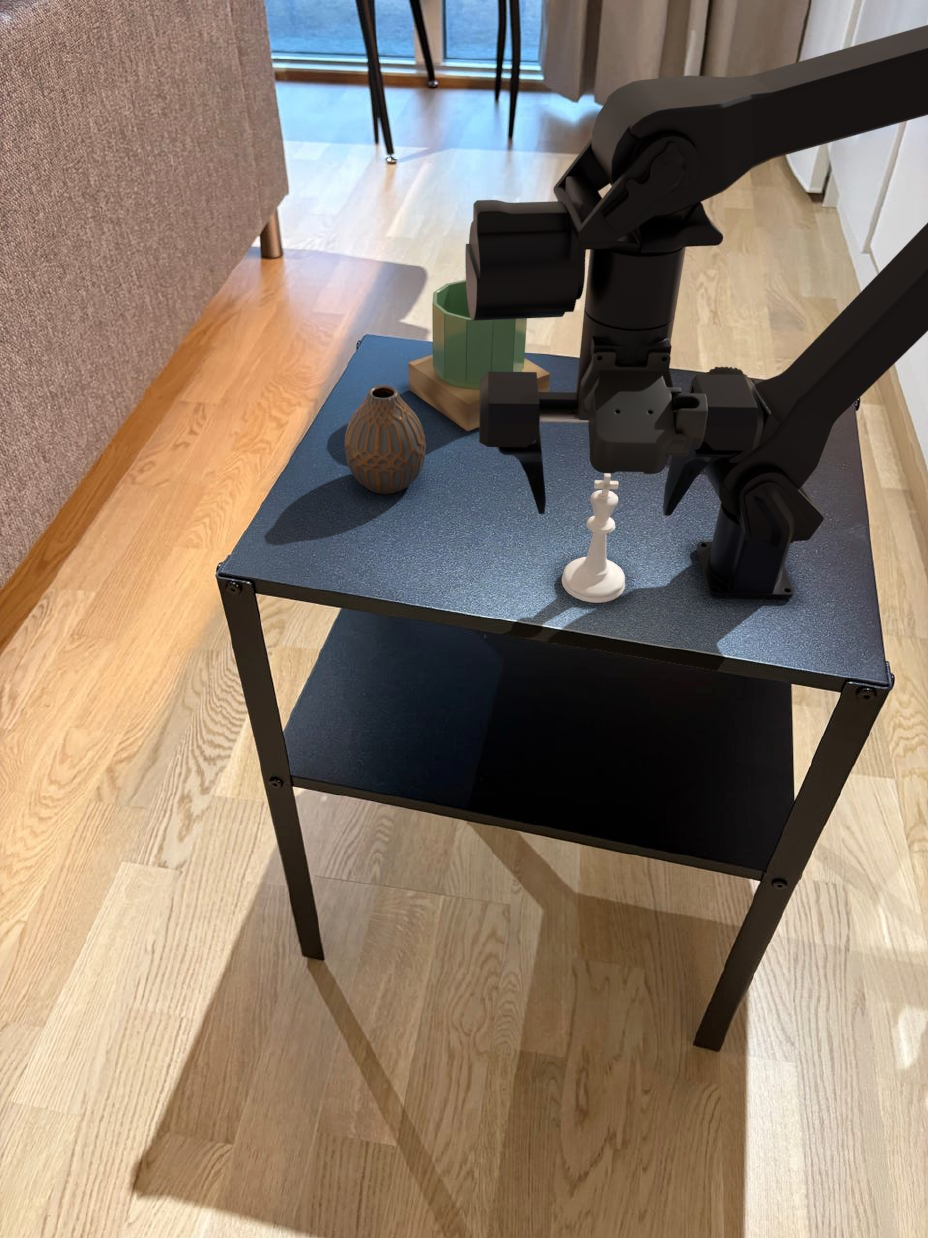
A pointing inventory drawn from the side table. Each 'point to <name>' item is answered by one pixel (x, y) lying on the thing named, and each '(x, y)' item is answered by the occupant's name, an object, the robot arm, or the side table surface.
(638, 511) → the side table surface
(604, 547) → the chess piece
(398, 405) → the vase
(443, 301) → the cup
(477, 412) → the block
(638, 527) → the side table surface
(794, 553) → the side table surface
